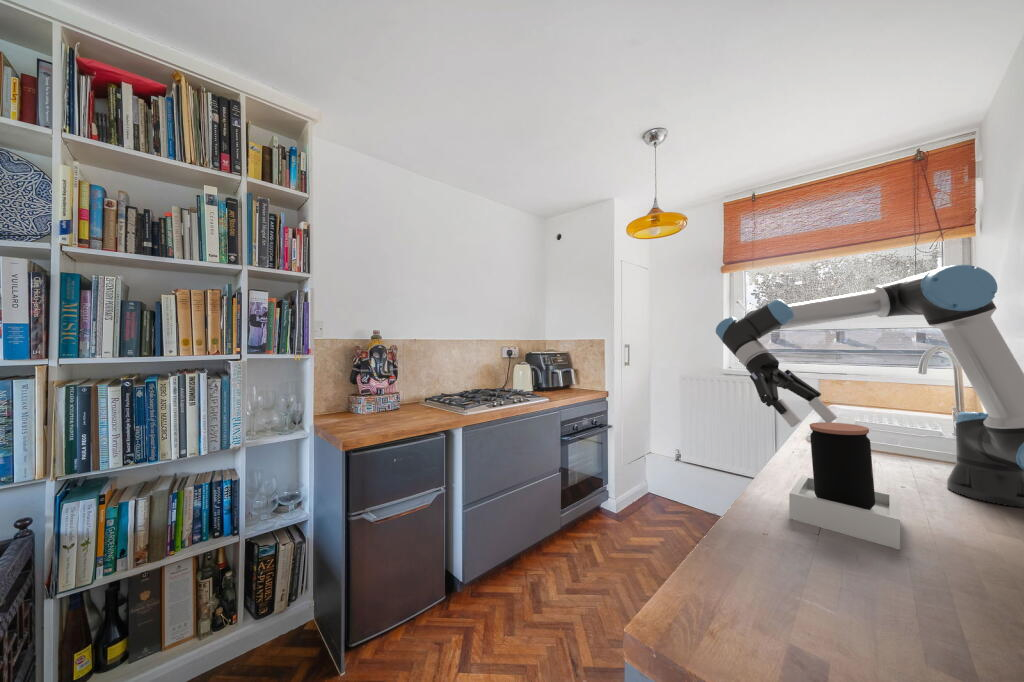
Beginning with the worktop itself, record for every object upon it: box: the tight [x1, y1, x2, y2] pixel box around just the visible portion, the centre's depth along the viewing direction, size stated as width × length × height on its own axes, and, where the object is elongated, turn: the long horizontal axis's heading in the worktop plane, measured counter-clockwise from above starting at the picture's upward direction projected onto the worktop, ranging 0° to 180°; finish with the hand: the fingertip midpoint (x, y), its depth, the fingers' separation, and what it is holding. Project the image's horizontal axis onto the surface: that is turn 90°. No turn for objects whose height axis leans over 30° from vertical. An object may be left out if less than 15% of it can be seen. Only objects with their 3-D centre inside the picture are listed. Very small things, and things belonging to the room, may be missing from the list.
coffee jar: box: [809, 421, 875, 510], centre depth 87 cm, size 11×11×18 cm
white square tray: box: [788, 474, 901, 550], centre depth 86 cm, size 18×18×6 cm
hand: (815, 422), depth 92 cm, fingers open, 13 cm apart
